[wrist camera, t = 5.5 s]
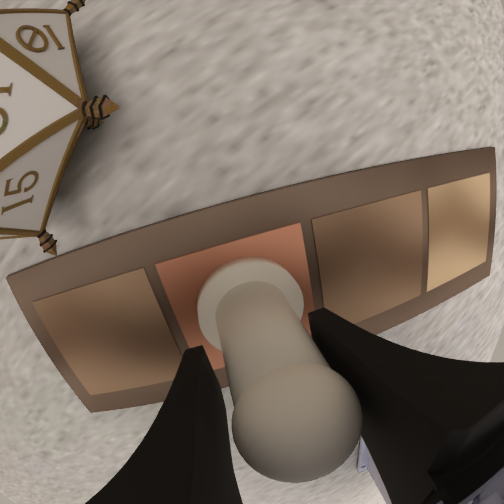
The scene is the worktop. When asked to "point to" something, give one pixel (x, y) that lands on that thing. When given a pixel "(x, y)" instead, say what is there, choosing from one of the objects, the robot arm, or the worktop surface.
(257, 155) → the worktop surface
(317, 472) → the pawn
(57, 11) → the game die
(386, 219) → the board
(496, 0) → the worktop surface
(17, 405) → the worktop surface
